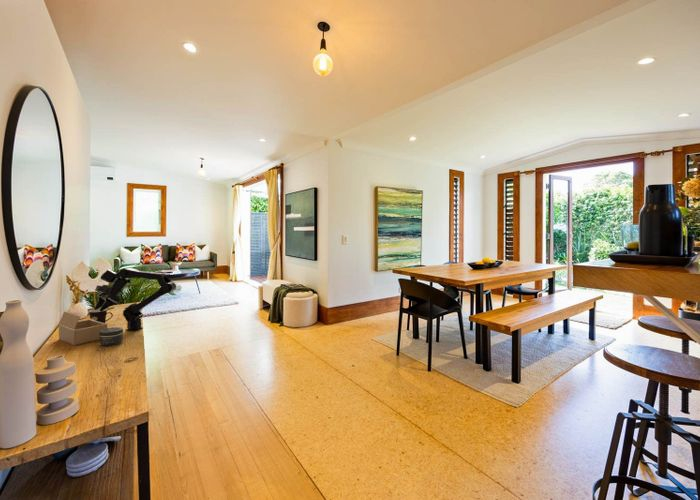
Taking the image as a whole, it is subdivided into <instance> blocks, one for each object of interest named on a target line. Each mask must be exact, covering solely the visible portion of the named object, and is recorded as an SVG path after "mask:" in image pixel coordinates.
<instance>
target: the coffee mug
mask: <svg viewBox="0 0 700 500" xmlns="http://www.w3.org/2000/svg"><path fill="white" fill-rule="evenodd" d="M88 313H89V319H92V320H95V321H99V322H102V323H105V324H106V322H108V321H109V320H111V319H112V318H113V313H112V312H110V311H108V308H107V309H105V310H103V311H100V308H98V309H97V310H95V309H90V310H89V311H88ZM108 314H111V316H110V318H108V319H107V315H108Z"/></svg>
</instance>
